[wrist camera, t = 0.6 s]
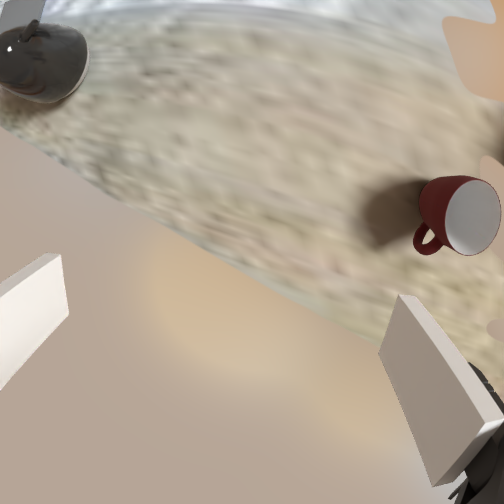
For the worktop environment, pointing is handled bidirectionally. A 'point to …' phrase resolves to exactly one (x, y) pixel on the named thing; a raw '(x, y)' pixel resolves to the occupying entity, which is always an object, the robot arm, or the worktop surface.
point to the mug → (458, 215)
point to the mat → (20, 13)
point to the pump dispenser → (42, 61)
